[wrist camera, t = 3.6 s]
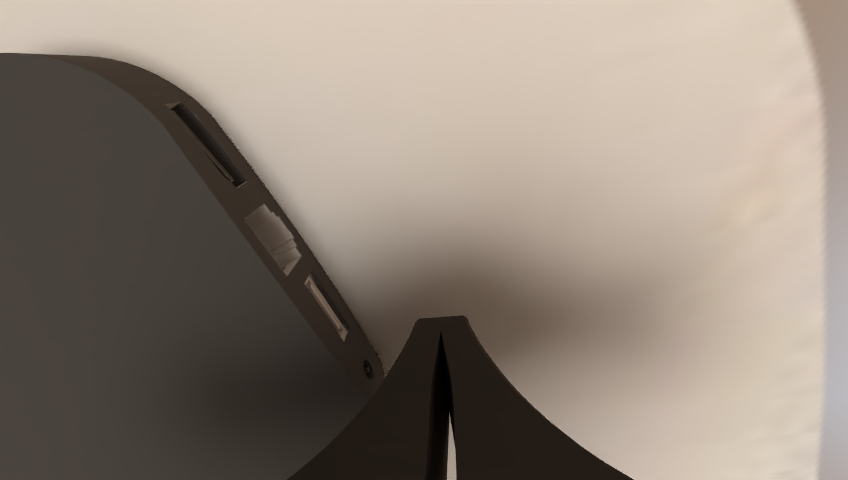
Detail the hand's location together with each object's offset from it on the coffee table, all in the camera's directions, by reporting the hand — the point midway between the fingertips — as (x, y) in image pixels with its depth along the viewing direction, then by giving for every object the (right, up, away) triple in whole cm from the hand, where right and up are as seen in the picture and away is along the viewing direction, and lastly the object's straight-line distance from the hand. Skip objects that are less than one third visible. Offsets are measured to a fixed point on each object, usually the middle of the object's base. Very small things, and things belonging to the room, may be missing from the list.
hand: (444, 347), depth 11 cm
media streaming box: (-10, 0, +2) cm, 11 cm away
